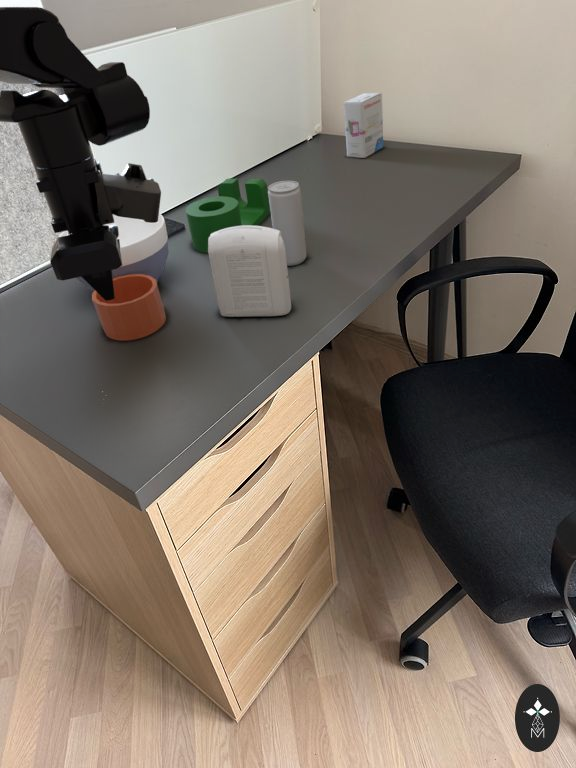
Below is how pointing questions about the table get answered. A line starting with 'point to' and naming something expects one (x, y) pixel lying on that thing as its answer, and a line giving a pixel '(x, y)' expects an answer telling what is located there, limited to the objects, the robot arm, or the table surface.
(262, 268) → the white rounded block
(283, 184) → the beverage can
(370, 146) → the ink box
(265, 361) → the table surface
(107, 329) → the cup
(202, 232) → the green bracket
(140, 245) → the bowl
